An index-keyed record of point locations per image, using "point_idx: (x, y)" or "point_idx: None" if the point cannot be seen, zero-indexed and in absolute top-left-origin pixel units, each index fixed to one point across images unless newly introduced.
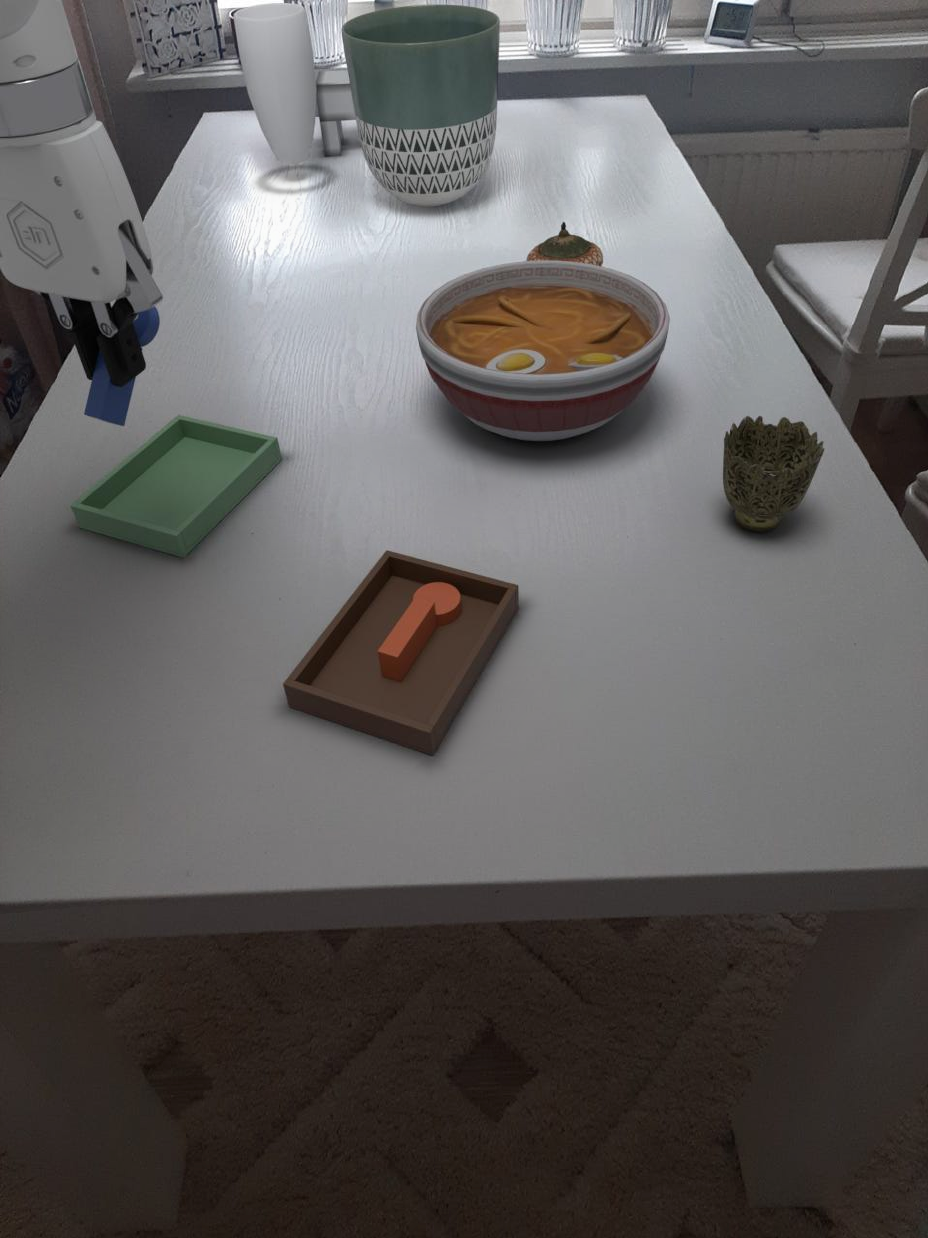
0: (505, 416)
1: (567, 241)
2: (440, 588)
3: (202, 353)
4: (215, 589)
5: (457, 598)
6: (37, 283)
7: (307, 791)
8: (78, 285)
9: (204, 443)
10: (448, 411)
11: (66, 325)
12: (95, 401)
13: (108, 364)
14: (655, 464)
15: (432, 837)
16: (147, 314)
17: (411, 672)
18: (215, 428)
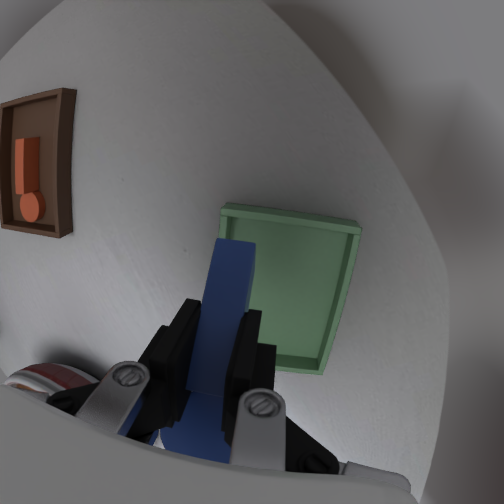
0: (50, 368)
1: None
2: (30, 216)
3: (351, 437)
4: (176, 172)
5: (21, 210)
6: (226, 495)
7: (53, 50)
8: (17, 435)
9: (294, 353)
10: None
11: (270, 396)
12: (231, 265)
13: (179, 322)
14: (27, 349)
15: (9, 66)
16: (165, 436)
17: None
18: (277, 365)
